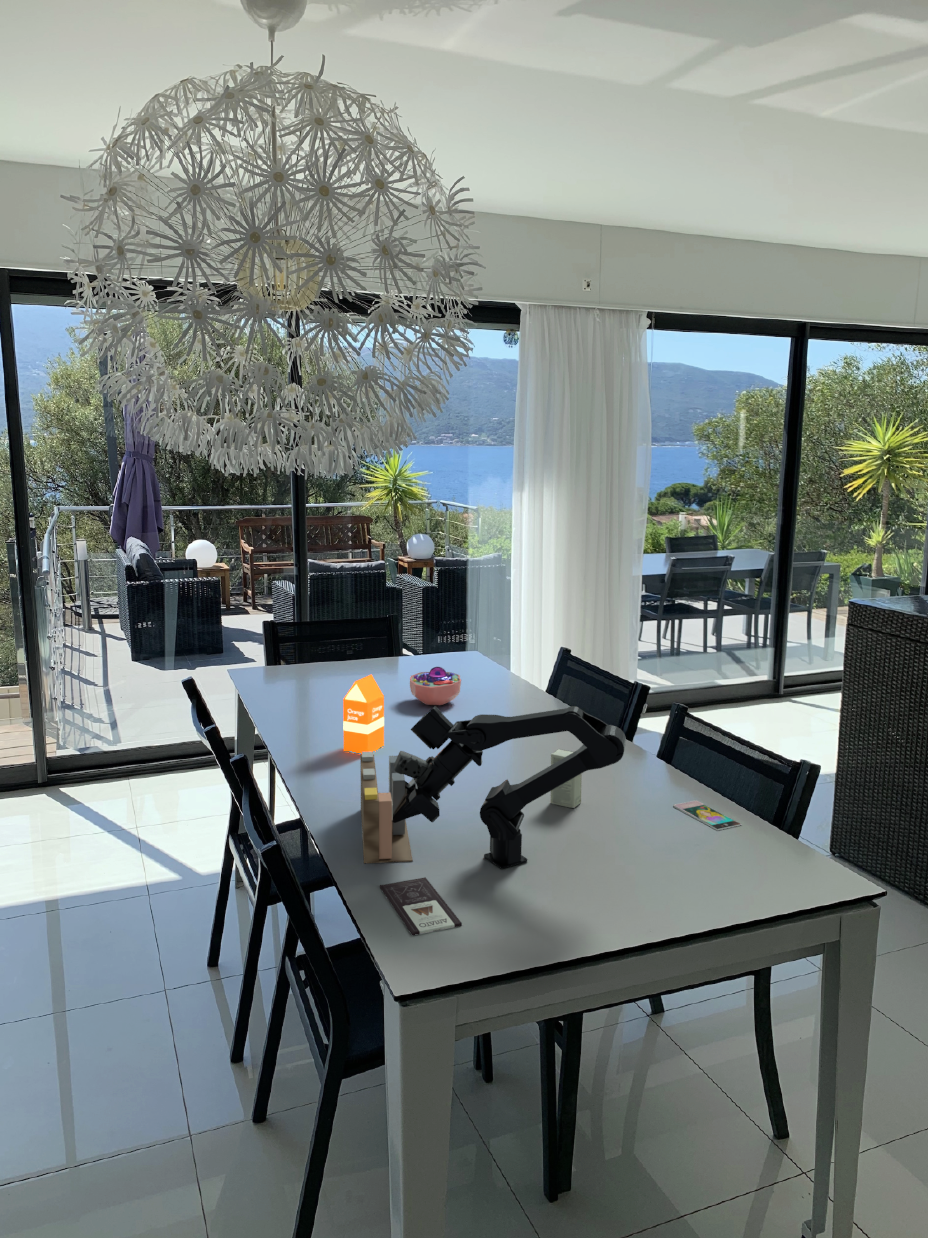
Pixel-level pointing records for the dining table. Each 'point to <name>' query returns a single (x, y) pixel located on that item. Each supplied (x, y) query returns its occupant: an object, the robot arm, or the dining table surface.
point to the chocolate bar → (420, 906)
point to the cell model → (435, 686)
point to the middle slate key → (398, 801)
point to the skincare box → (566, 785)
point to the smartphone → (706, 815)
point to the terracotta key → (385, 825)
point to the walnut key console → (377, 818)
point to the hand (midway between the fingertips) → (392, 821)
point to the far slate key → (391, 771)
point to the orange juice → (363, 716)
